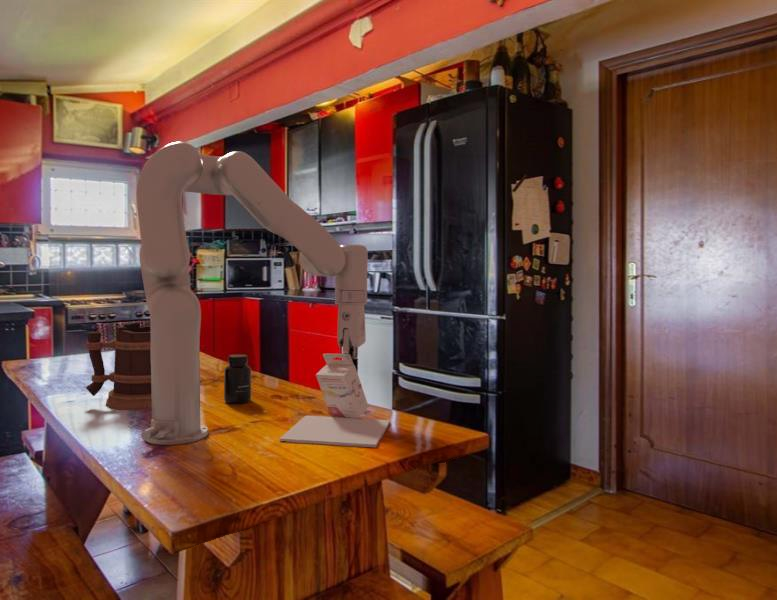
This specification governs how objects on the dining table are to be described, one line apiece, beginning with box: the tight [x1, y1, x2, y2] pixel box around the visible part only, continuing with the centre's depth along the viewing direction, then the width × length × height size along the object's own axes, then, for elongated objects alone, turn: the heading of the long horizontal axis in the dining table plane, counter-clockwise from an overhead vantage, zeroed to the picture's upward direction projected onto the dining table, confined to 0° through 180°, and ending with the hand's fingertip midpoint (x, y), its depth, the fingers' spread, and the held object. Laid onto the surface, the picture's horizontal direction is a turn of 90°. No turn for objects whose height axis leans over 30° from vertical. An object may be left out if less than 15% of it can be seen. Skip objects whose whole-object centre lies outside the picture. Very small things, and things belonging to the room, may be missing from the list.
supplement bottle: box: [223, 354, 252, 405], centre depth 152 cm, size 7×7×12 cm
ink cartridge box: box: [315, 353, 369, 419], centre depth 136 cm, size 9×5×15 cm, turn 58°
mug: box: [85, 321, 152, 411], centre depth 150 cm, size 18×23×20 cm
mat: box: [278, 415, 391, 448], centre depth 127 cm, size 18×20×1 cm
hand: (350, 375), depth 138 cm, fingers closed
